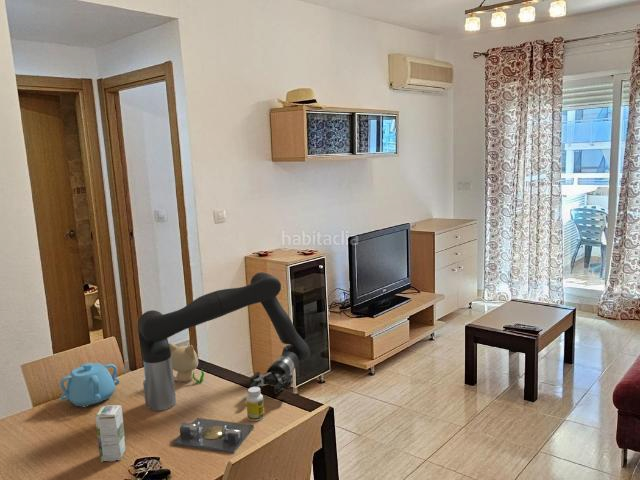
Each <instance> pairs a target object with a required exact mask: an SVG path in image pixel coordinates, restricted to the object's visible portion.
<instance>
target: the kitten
mask: <svg viewBox="0 0 640 480" xmlns="http://www.w3.org/2000/svg"><path fill="white" fill-rule="evenodd" d="M168 343H169V346H170V349H171V359H172V368H173V371H175V372H177V373H176V376H174V375H173V377H174V382H182V383H186V382H190V381H192V380H194V381H195V382H196V384H202V383H203V382H204V376H205V372H204V370H203V369H200V371H201V376H200V378H199V379H198V378H196V377H195V371H194V370H196V369H197V367H198V365H199V358H198V354H197V352H196V351H195V349H194V346H193V345H192V344H190V345H180V346H177V345H175V344H174V343H170V342H168Z"/></svg>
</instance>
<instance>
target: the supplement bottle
mask: <svg viewBox="0 0 640 480" xmlns="http://www.w3.org/2000/svg"><path fill="white" fill-rule="evenodd" d="M261 392H262V391H261V388H260V386H258V387H251V388H250V387H249V388H248V390H247V396H246V398H245V399H246V414H247V420H249V421H251V422H259V421H261V420H263V419H264V418H265V409H264V407H265V406H264V395H263V394H262V393H261Z"/></svg>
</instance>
